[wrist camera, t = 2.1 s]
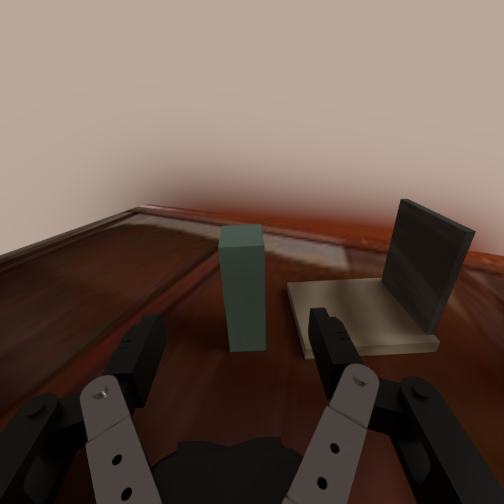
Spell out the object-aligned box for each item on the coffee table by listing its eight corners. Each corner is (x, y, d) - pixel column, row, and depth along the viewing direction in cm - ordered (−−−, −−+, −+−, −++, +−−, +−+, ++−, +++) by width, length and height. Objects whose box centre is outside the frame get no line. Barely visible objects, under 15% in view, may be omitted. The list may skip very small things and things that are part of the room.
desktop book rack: (380, 286, 37) (402, 196, 31) (435, 352, 27) (485, 236, 20) (287, 291, 37) (289, 202, 31) (305, 359, 27) (314, 245, 20)
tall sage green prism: (262, 317, 32) (260, 223, 26) (266, 350, 28) (264, 245, 22) (231, 319, 32) (222, 225, 26) (230, 352, 28) (218, 247, 22)
